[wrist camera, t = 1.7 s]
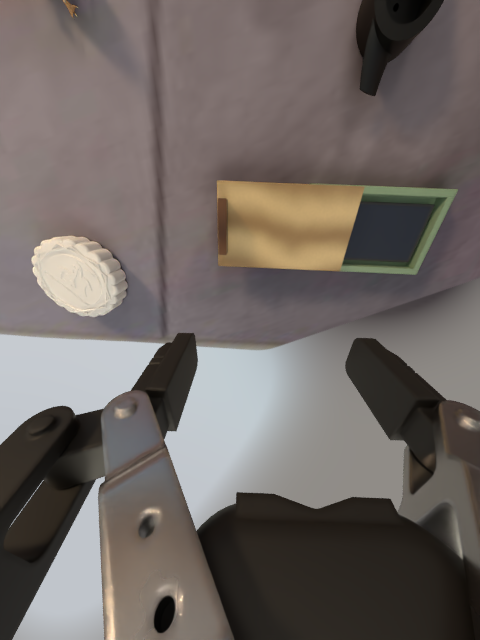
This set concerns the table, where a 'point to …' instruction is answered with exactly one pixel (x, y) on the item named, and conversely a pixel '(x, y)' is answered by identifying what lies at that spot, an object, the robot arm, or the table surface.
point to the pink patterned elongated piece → (70, 7)
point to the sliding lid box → (442, 204)
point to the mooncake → (79, 275)
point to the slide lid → (285, 224)
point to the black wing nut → (388, 33)
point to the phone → (387, 231)
